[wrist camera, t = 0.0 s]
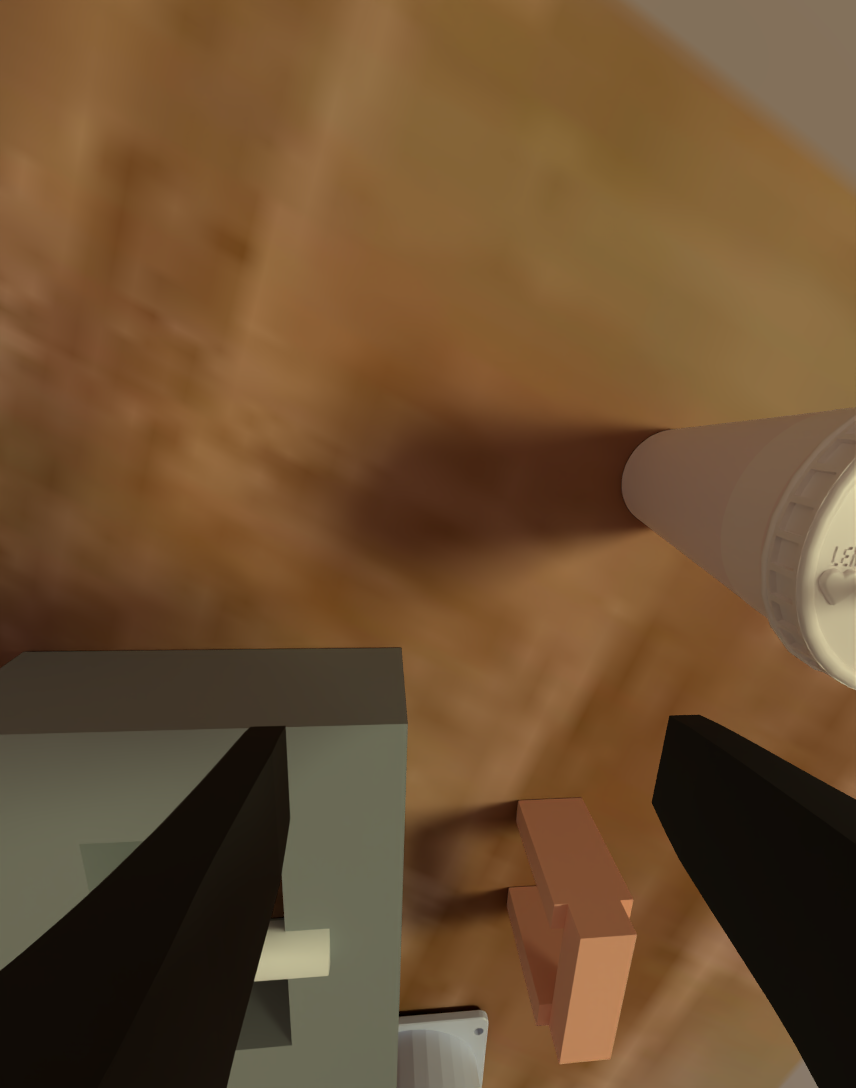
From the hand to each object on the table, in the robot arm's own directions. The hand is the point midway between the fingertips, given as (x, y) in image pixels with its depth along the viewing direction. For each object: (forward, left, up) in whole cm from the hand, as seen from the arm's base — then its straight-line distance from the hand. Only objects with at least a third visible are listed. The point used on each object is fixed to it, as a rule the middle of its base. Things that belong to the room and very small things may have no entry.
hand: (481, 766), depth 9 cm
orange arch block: (-14, -6, -10) cm, 18 cm away
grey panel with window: (-12, +8, -10) cm, 18 cm away
